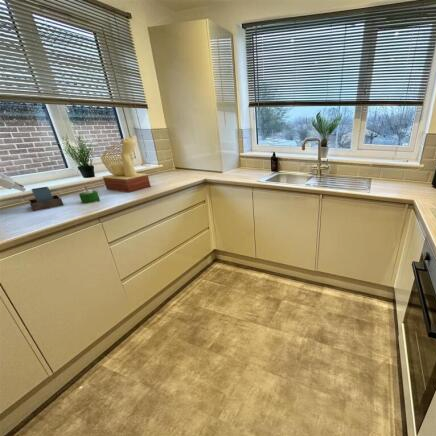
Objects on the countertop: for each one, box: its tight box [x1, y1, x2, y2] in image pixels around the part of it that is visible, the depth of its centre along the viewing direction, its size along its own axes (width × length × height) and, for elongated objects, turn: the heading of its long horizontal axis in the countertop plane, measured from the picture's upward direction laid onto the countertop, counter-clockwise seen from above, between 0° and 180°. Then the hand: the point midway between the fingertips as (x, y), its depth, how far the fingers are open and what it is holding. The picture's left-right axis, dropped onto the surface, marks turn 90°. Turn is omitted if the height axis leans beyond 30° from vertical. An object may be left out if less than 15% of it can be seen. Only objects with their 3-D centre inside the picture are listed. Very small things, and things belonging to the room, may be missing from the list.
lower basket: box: [27, 194, 64, 212], centre depth 132 cm, size 12×12×5 cm
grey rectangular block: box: [30, 186, 54, 203], centre depth 131 cm, size 6×6×10 cm
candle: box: [78, 184, 101, 204], centre depth 138 cm, size 8×8×10 cm
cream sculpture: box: [100, 135, 152, 193], centre depth 161 cm, size 25×18×35 cm
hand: (23, 188), depth 125 cm, fingers open, 8 cm apart
